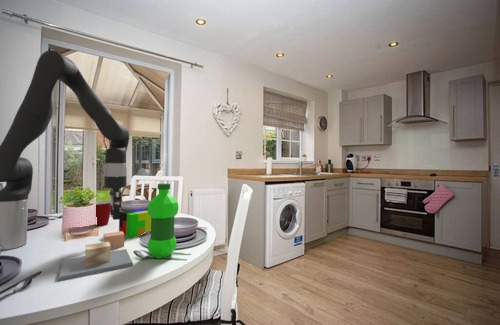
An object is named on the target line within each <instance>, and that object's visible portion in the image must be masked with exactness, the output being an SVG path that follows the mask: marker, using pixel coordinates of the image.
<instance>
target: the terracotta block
mask: <svg viewBox="0 0 500 325" xmlns="http://www.w3.org/2000/svg"><path fill="white" fill-rule="evenodd" d="M104 242H109V243H110V246H111V247H110V250H113V249H118V248H122V247H125V236H124V233H123V232H122V231H120V232H119V231H113V232H107V233H103V242H102V243H104Z"/></svg>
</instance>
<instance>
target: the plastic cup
mask: <svg viewBox="0 0 500 325" xmlns="http://www.w3.org/2000/svg"><path fill="white" fill-rule="evenodd" d="M94 202H95V203H96V217H97V225H98V226H97V227H103V226H107V225H109V221H110V217H111V206H110V202H109V200H101V201H94Z"/></svg>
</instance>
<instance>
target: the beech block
mask: <svg viewBox="0 0 500 325" xmlns="http://www.w3.org/2000/svg"><path fill="white" fill-rule="evenodd" d="M110 247H111V246H110V243H109V242H104V243H103V242H98V243H92V244H91V243H90V244H85V250H84V252H85V254H84V256H85V266H88V265H94V264H99V263H104V262H110V252H111V249H110Z"/></svg>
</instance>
